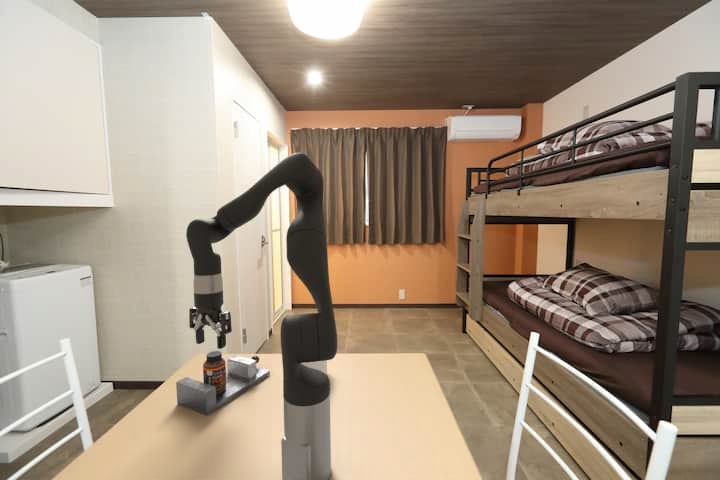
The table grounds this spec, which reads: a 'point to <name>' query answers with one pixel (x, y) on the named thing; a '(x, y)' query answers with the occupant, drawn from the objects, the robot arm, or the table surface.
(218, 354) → the supplement bottle
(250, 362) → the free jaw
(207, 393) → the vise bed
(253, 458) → the table surface
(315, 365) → the cylinder with rectangular tab
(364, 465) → the table surface
